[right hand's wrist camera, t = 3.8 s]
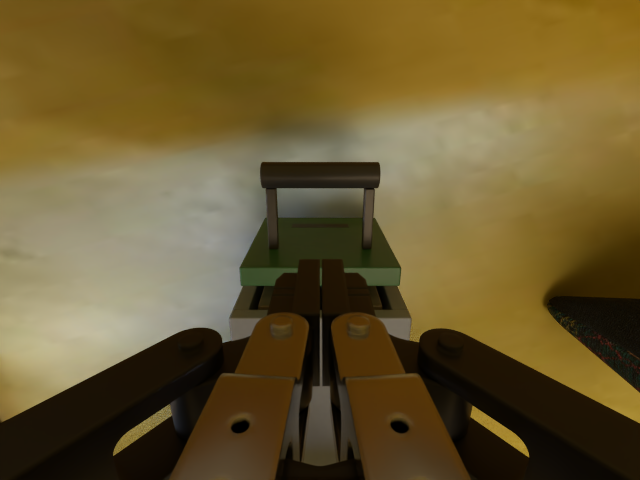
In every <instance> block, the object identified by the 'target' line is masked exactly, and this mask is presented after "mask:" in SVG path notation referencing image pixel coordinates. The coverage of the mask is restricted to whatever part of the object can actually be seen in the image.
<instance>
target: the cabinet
mask: <svg viewBox="0 0 640 480" xmlns="http://www.w3.org/2000/svg"><path fill="white" fill-rule="evenodd" d="M376 288H377V292H378V295H379V298H380V301H381V304H382V310H374V311H375V315H376V317H377V318H378V319H380V320H381V321H382V322H383V323H384V325H385V327H386V329H387V331H388V333H389V334H390V335H392V336H395V337H397V338H400V339H404V340H409V338H410V329H411V316H410V314H409V312H408V310H407V307H406V305H405V303H404V300H403V298H402V296H401V294H400V292H399V289H398V287H397V286H376ZM263 290H264V286H243V288H242V290H241V292H240V295H239V297H238V299H237V301H236V304H235V306H234V308H233V311H232V313H231V315H230V317H229V323H230V333H231V341H234V340H239V339H243V338H246V337H248V336H250V335H251V334H252V331H253V329H254V327H255V325H256V323H257V322H258V321H259V320H260V319H262V318H263V317H265V316H267V312H268V310H258V305H259V302H260V299H261V296H262V293H263ZM304 463H307V464H311V465H315V466H325V465H329V464H333V463H336V456H335V448H334V440H333V432H332V424H331V416H330V386H322V310H320V386H313V391H312V399H311V402H310V416H309V424H308V432H307V440H306V448H305V456H304Z"/></svg>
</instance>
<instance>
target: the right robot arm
mask: <svg viewBox="0 0 640 480" xmlns="http://www.w3.org/2000/svg"><path fill="white" fill-rule="evenodd" d="M313 386H320V259H299V265H298V272H297V273H283V274H282V275H281V276H280V277H278V278H277V279H276V282H275V285H274V289H273V293H272V297H271V301H270V304H269V308H268V312H267V316H265V317H263V318H262V319H260V320H259V321H258V322H257V323H256V325H255V327H254V329H253V331H252V334H251V335H250V336H248V337H246V338H243V339H239V340H234V341H229V342H225V343H222V338H221V335H220V334H219V333H218V332H217V331H215V330H212V329H209V328H193V329H188V330H184V331H181V332H179V333H176V334H174V335H172V336H170V337H168V338H167V339H165V340H163V341H161V342H159V343H157V344H155V345H153V346H151V347H149V348H147V349H145V350H143V351H141V352H139V353H137V354H135V355H133V356H131V357H129V358H127V359H125V360H124V361H122V362H120V363H118V364H116V365H114V366H112V367H110V368H108V369H106V370H104V371H102V372H100V373H98V374H96V375H94V376H92V377H90V378H88V379H86V380H84V381H82V382H80V383H79V384H77V385H75V386H73V387H71V388H69V389H67V390H65V391H63V392H61V393H59V394H57V395H55V396H53V397H51V398H49V399H47V400H45V401H43V402H41V403H39V404H37V405H36V406H34V407H32V408H30V409H28V410H26V411H24V412H22V413H20V414H18V415H16V416H14V417H12V418H10V419H8V420H6V421H4V422H2V423H0V480H640V423H638V422H636V421H634V420H632V419H630V418H628V417H626V416H624V415H622V414H620V413H618V412H616V411H614V410H612V409H610V408H608V407H606V406H604V405H603V404H601V403H599V402H597V401H595V400H593V399H591V398H589V397H587V396H585V395H583V394H581V393H579V392H577V391H575V390H573V389H571V388H569V387H567V386H565V385H563V384H561V383H560V382H558V381H556V380H554V379H552V378H550V377H548V376H546V375H544V374H542V373H540V372H538V371H536V370H534V369H532V368H530V367H528V366H526V365H524V364H522V363H520V362H518V361H516V360H515V359H513V358H511V357H509V356H507V355H505V354H503V353H501V352H499V351H497V350H495V349H493V348H491V347H489V346H487V345H485V344H483V343H481V342H479V341H477V340H475V339H473V338H472V337H470V336H468V335H466V334H463V333H461V332H458V331H455V330H451V329H442V328H440V329H431V330H428V331H426V332H424V333H423V334H422V335H421V337H420V340H419V342H414V341H409V340H404V339H400V338H397V337H395V336H392V335H390V334H389V333H388V331H387V329H386V327H385V325H384V323H383V322H382V321H381V320H380V319H378V318H377V317H376V315H375V311H374V307H373V304H372V300H371V296H370V293H369V289H368V286H367V282H366V279H365V278H364V277H362V276H361V275H360V274H359V273H345V272H344V265H343V259H322V386H330V416H331V424H332V432H333V440H334V448H335V456H336V463H333V464H329V465H325V466H315V465H311V464H307V463H304V456H305V448H306V440H307V432H308V424H309V416H310V402H311V399H312V391H313ZM168 404H170V407H171V412H172V416H171V417H169V418H168V419H166V420H165V421H163V422H162V423H161V424H159V425H158V426H156V427H155V428H153V429H152V430H150V431H149V432H148V433H146V434H145V435H143V436H142V437H140V438H139V439H137V440H136V441H135V442H133V443H132V444H130V445H129V446H127V447H126V448H125V449H123V450H122V451H120V452H119V453H117V454H116V455H114V456H113V451H114V448H115V446H116V444H117V442H118V441H119V440H120V438H121V437H122V436H123V435H124V434H125V433H127V432H128V431H129V430H131V429H132V428H134V427H135V426H137V425H138V424H140V423H141V422H143V421H144V420H146V419H147V418H149V417H150V416H152V415H153V414H155V413H156V412H158V411H159V410H161V409H162V408H164V407H165V406H167V405H168ZM472 405H473V406H475V407H476V408H478V409H479V410H481V411H482V412H484V413H485V414H487V415H488V416H490V417H491V418H493V419H494V420H496V421H497V422H499V423H500V424H502V425H503V426H505V427H506V428H508V429H509V430H511V431H512V432H514V433H515V434H516V435H517V436H518V437H519V438H520V439H521V440H522V441H523V442H524V444H525V445H526V447H527V449H528V452H529V457H527V456H526V455H524V454H523V453H521V452H520V451H518V450H517V449H516V448H514V447H513V446H511V445H510V444H508V443H507V442H505V441H504V440H503V439H501V438H500V437H498V436H497V435H495V434H494V433H492V432H491V431H490V430H488V429H487V428H485V427H484V426H482V425H481V424H479V423H478V422H477V421H475V420H474V419H472V418H471V417H470V416H471V411H472Z"/></svg>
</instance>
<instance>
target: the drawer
mask: <svg viewBox="0 0 640 480" xmlns="http://www.w3.org/2000/svg"><path fill="white" fill-rule="evenodd" d="M260 179H261V185H262V188H266V204H267V218H265V220H264V222H263V224H262V225H261V227H260V229H259V231H258V233H257V235H256V237H255V239H254V241H253V243H252V245H251V247H250V249H249V251H248V253H247V254H246V256H245V258H244V260H243V262H242V264H241V266H240V268H239V269H240V280H241V286H264V290H263V293H262V296H261V299H260V302H259V305H258V310H268V308H269V304H270V301H271V297H272V293H273V289H274V285H275V282H276V279H277V278H278V277H280V276H281V275H282V274H283V273H297V272H298V265H299V259H320V310H322V259H343V265H344V272H345V273H359V274H360V275H361V276H362V277H364V278H365V279H366V282H367V286H368V289H369V293H370V296H371V300H372V304H373V307H374V310H382V304H381V301H380V298H379V295H378V292H377V288H376V286H399V285H400V276H401V267H400V265H399V263H398V261H397V259H396V257H395V255H394V253H393V252H392V250H391V248H390V246H389V244H388V242H387V240H386V238H385V236H384V234H383V232H382V231H381V229H380V227H379V225H378V223H377V221H376V219H375V218H373V212H374V194H375V189H374V188H378V187H379V183H380V164H379V163H378V162H262V163H261V168H260ZM277 188H364V198H363V218H278V209H277Z"/></svg>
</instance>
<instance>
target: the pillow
mask: <svg viewBox="0 0 640 480" xmlns="http://www.w3.org/2000/svg"><path fill="white" fill-rule="evenodd" d="M549 302H550V303H548V304H547V307H548V310H549V312H550V313H551V315H552V316H553V317H554V318H555V320H556V321H557V322H558V323H559V324H560V325H561V326H562V327H564V328H565V329H566V330H567V331H568V332H569V333H570V334H572V335H573V336H574V337H575V338H576V339H578V340H579V341H580V342H581V343H582V344H583V345H585V346H586V347H587V348H588V349H589V350H590V351H592V352H593V353H594V354H595V355H596V356H597V357H599V358H600V359H601V360H602V361H603V362H604V363H606V364H607V365H608V366H609V367H610V368H612V369H613V370H614V371H615V372H616V373H618V374H619V375H620V376H621V377H622V378H623V379H625V380H626V381H627V382H628V383H629V384H630V385H632V386H633V387H634V388H635V389H636V390H637V391H639V392H640V299H625V298H597V297H571V296H559V297H554V298H552V299H551V300H549Z"/></svg>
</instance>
